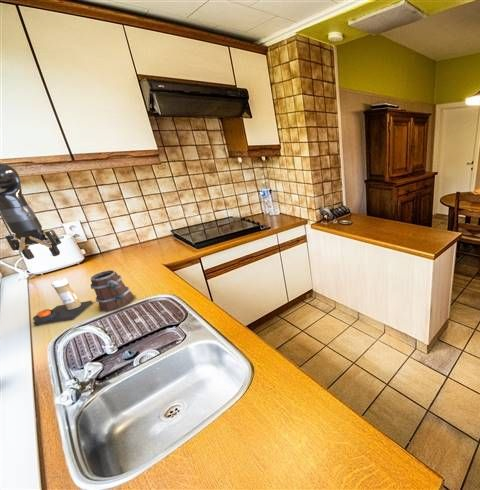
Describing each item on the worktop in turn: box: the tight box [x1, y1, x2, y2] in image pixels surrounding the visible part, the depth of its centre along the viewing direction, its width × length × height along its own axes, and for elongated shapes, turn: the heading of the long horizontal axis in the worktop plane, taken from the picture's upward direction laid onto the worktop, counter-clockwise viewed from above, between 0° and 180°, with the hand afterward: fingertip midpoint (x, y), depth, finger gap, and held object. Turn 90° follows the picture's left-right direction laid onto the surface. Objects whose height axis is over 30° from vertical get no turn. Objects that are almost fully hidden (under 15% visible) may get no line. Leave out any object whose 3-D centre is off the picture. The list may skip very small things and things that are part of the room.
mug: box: [90, 270, 135, 312], centre depth 116 cm, size 16×12×15 cm
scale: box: [32, 300, 93, 326], centre depth 114 cm, size 14×12×3 cm
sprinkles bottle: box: [50, 278, 81, 310], centre depth 113 cm, size 5×5×13 cm
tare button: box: [36, 308, 52, 318], centre depth 109 cm, size 4×4×2 cm
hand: (44, 257), depth 106 cm, fingers open, 8 cm apart
